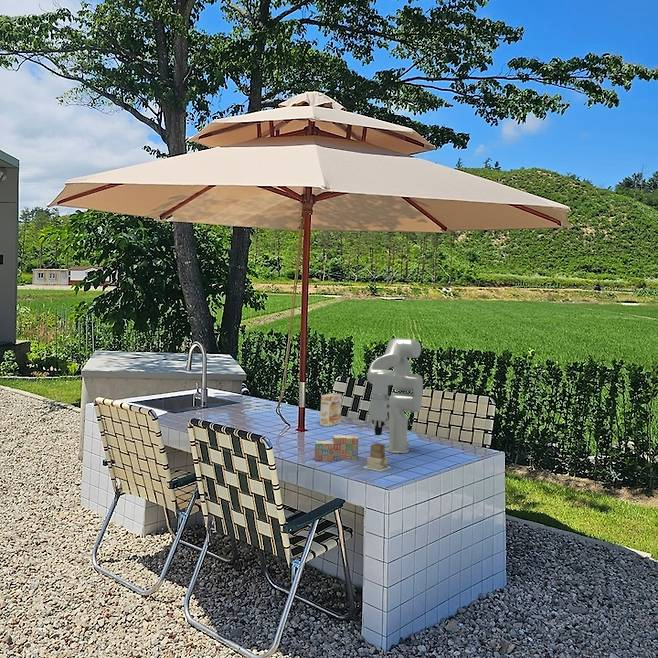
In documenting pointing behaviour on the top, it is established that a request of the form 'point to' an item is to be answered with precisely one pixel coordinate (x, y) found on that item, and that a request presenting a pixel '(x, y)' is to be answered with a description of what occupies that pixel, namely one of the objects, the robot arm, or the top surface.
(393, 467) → the board
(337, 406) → the coffeecake box
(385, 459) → the maple base block
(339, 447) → the stack of blocks
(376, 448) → the walnut block
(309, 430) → the top surface
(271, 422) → the top surface
